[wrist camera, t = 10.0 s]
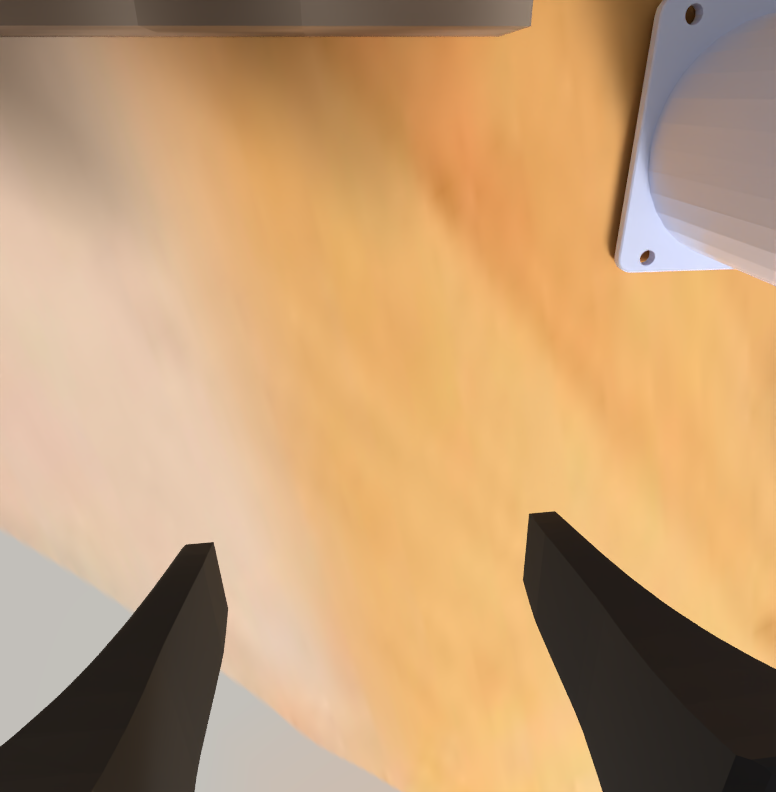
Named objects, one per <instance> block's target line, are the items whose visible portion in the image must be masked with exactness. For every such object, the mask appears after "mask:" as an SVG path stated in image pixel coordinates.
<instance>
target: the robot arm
mask: <svg viewBox="0 0 776 792" xmlns="http://www.w3.org/2000/svg"><path fill="white" fill-rule="evenodd" d="M690 6H693V7H694V9H695V18H694V21H693V22H692V23H691V24H688V23H687V21H686V20H685V14H686V11H687V9H688V8H689V7H690ZM647 250H649V257H648V259H647V260H646V261H645V262H642V263H640V257H641V254H642V253H643V252H645V251H647ZM615 263H616V265H617V267H619V268H620V269H621V270H623V271H625V272H660V271H689V270H718V269H737V270H739V271H741V272H744V273H746V274H748V275H751V276H753V277H755V278H758V279H760V280H762V281H765V282H767V283H769V284H772V285H774V286H776V0H663V1H662V2H661V3H660V5H659V6H658V7H657V10H656V13H655V17H654V23H653V29H652V35H651V41H650V47H649V53H648V59H647V65H646V71H645V77H644V83H643V89H642V95H641V101H640V107H639V113H638V119H637V125H636V131H635V137H634V143H633V149H632V155H631V161H630V167H629V173H628V179H627V185H626V191H625V197H624V203H623V209H622V215H621V221H620V227H619V233H618V239H617V245H616V251H615ZM523 582H524V585H525V589H526V592H527V596H528V599H529V602H530V606H531V609H532V612H533V615H534V618H535V621H536V624H537V626H538V629H539V631H540V633H541V636H542V638H543V640H544V642H545V645H546V647H547V649H548V652H549V654H550V656H551V658H552V661H553V663H554V665H555V667H556V670H557V672H558V674H559V676H560V679H561V681H562V683H563V685H564V688H565V690H566V692H567V695H568V697H569V699H570V701H571V704H572V706H573V708H574V710H575V713H576V715H577V718H578V720H579V723H580V725H581V728H582V730H583V733H584V736H585V739H586V742H587V745H588V748H589V751H590V754H591V757H592V760H593V763H594V766H595V769H596V772H597V775H598V778H599V781H600V784H601V788H602V791H603V792H776V669H774V668H772V667H770V666H769V665H767V664H765V663H763V662H761V661H759V660H757V659H755V658H753V657H751V656H749V655H748V654H746V653H744V652H742V651H740V650H739V649H737V648H735V647H733V646H732V645H730V644H728V643H726V642H724V641H723V640H721V639H719V638H718V637H716V636H714V635H713V634H711V633H709V632H708V631H706V630H704V629H703V628H701V627H700V626H698V625H697V624H695V623H693V622H692V621H690V620H689V619H687V618H686V617H684V616H683V615H681V614H680V613H678V612H677V611H675V610H674V609H672V608H671V607H669V606H668V605H667V604H665V603H664V602H662V601H661V600H659V599H658V598H657V597H656V596H654V595H653V594H652V593H650V592H649V591H648V590H646V589H645V588H644V587H642V586H641V585H640V584H638V583H637V582H636V581H634V580H633V579H632V578H631V577H629V576H628V575H627V574H626V573H624V572H623V571H622V570H621V569H620V568H618V567H617V566H616V565H615V564H614V563H612V562H611V561H610V560H609V559H608V558H607V557H605V556H604V555H603V554H602V553H601V552H600V551H598V550H597V549H596V548H595V547H594V546H593V545H592V544H591V543H589V542H588V541H587V540H586V539H585V538H584V537H583V536H582V535H581V534H579V533H578V532H577V531H576V530H575V529H574V528H573V527H572V526H571V525H570V524H568V523H567V522H566V521H565V520H564V519H563V518H562V517H561V516H560V515H558V514H557V513H556V512H543V513H532V514H529V521H528V532H527V543H526V554H525V565H524V576H523ZM227 615H228V606H227V602H226V597H225V593H224V588H223V583H222V579H221V574H220V570H219V565H218V560H217V556H216V551H215V547H214V542H211V543H200V544H188V545H185V546H184V547H183V548H182V549H181V551H180V552H179V554H178V555H177V556H176V558H175V559H174V561H173V562H172V563H171V565H170V566H169V567H168V569H167V570H166V572H165V573H164V574H163V576H162V577H161V578H160V580H159V581H158V582H157V584H156V585H155V587H154V588H153V589H152V591H151V592H150V593H149V594H148V596H147V597H146V598H145V600H144V601H143V602H142V603H141V605H140V606H139V607H138V608H137V610H136V611H135V612H134V614H133V615H132V616H131V617H130V619H129V620H128V621H127V622H126V624H125V625H124V626H123V627H122V628H121V630H120V631H119V632H118V633H117V634H116V635H115V636H114V637H113V639H112V640H111V641H110V642H109V643H108V644H107V646H106V647H105V648H104V649H103V650H102V651H101V653H100V654H99V655H98V656H97V657H96V658H95V659H94V660H93V661H92V663H90V665H89V666H88V667H87V668H86V669H85V670H84V671H83V672H82V673H81V674H80V675H79V676H78V677H77V678H76V679H75V680H74V681H73V682H72V683H71V684H70V685H69V686H68V687H67V688H66V689H65V690H64V691H63V692H62V693H61V694H60V695H59V696H58V697H57V698H56V699H55V700H54V701H52V702H51V703H50V704H49V705H48V706H47V707H46V708H45V709H43V711H41V712H40V713H39V714H38V715H37V716H36V717H34V718H33V719H32V720H31V721H30V722H29V723H28V724H27V725H25V726H24V727H23V728H22V729H21V730H20V731H19V732H17V733H16V734H15V735H14V736H13V737H12V738H10V739H9V740H8V741H7V742H5V743H4V744H3V745H2V746H0V792H194V790H195V783H196V776H197V771H198V765H199V760H200V755H201V750H202V746H203V742H204V737H205V733H206V729H207V724H208V720H209V715H210V711H211V707H212V702H213V698H214V694H215V689H216V685H217V680H218V676H219V671H220V667H221V662H222V658H223V653H224V644H225V636H226V626H227Z"/></svg>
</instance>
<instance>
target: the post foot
mask: <svg viewBox="0 0 776 792" xmlns="http://www.w3.org/2000/svg"><path fill="white" fill-rule="evenodd" d="M532 6H533V0H0V37H171V36H502V35H505V34H508V33H511V32H514V31H517V30H520V29H523V28H527V27H530V26H531V18H532Z"/></svg>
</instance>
